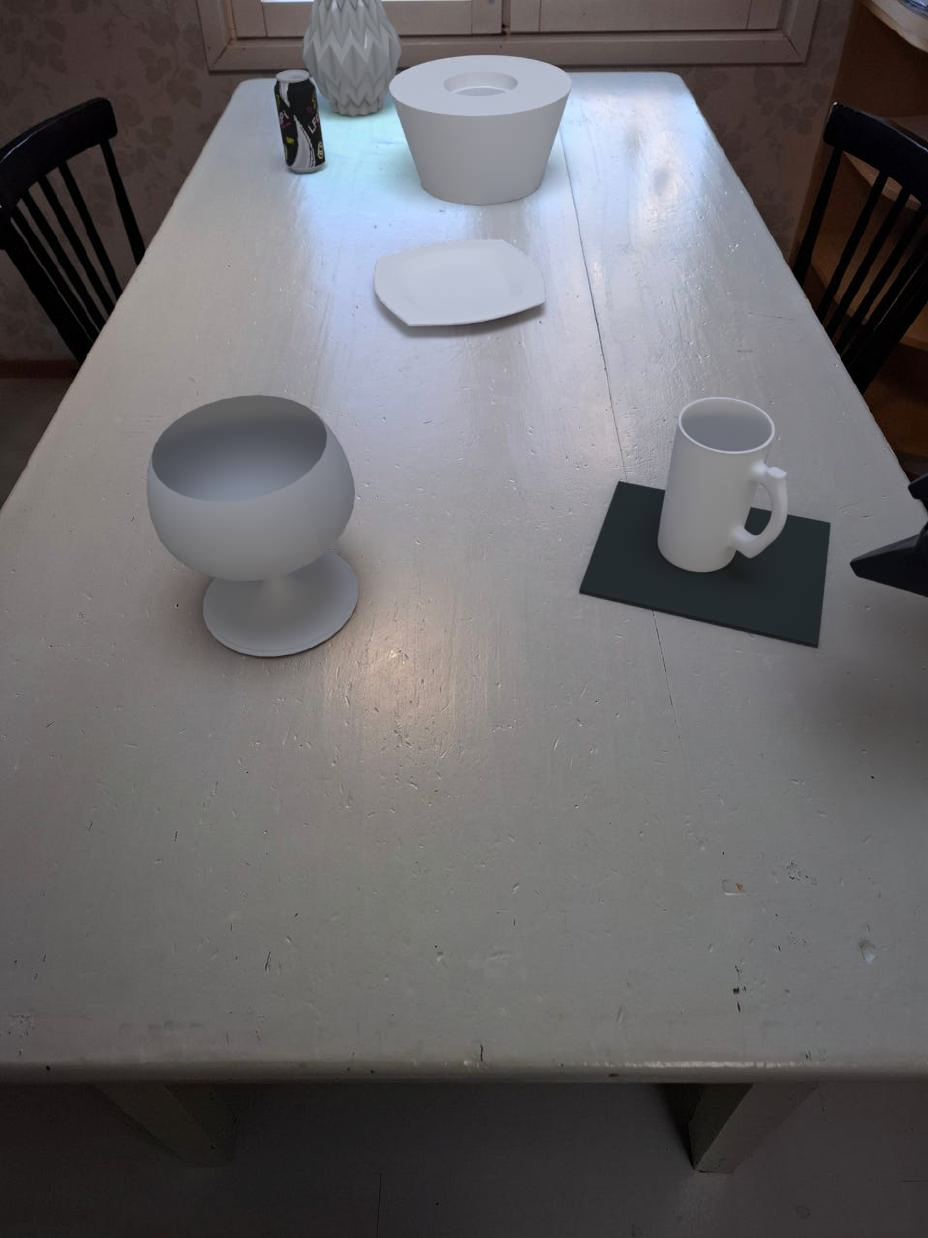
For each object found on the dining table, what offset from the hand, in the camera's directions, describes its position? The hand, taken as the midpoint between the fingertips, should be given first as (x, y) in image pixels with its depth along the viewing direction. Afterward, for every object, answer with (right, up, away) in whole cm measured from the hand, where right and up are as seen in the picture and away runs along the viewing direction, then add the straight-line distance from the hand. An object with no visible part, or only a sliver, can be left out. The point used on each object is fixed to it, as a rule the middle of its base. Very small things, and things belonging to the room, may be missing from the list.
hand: (883, 528), depth 54 cm
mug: (-7, -1, +15) cm, 16 cm away
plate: (-27, +32, +45) cm, 61 cm away
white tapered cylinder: (-24, +56, +67) cm, 91 cm away
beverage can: (-50, +60, +71) cm, 106 cm away
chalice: (-41, -4, +13) cm, 43 cm away
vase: (-44, +79, +87) cm, 126 cm away
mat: (-7, -1, +15) cm, 16 cm away
